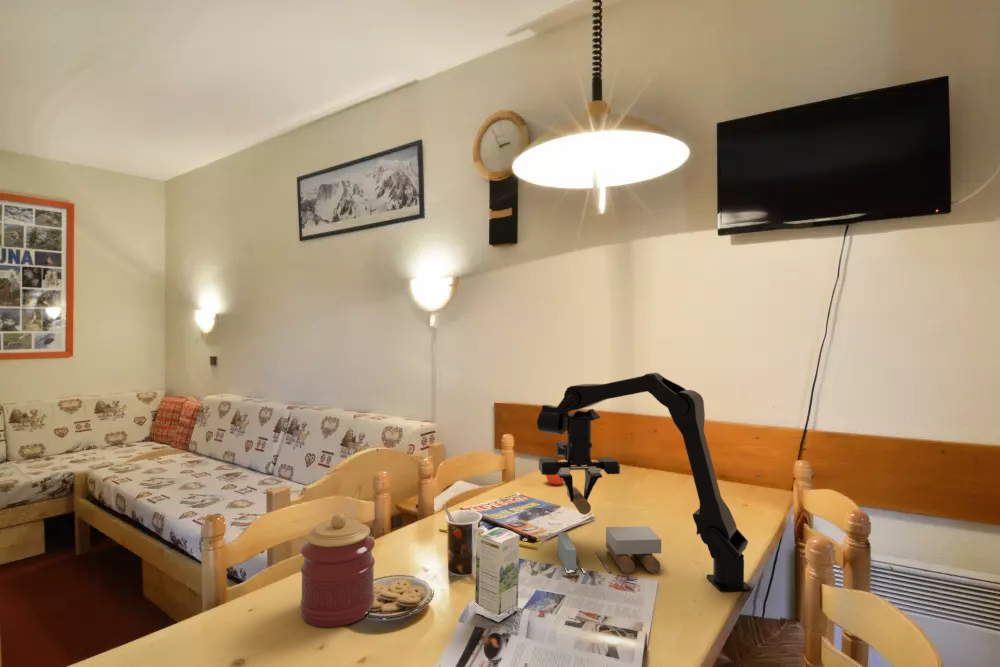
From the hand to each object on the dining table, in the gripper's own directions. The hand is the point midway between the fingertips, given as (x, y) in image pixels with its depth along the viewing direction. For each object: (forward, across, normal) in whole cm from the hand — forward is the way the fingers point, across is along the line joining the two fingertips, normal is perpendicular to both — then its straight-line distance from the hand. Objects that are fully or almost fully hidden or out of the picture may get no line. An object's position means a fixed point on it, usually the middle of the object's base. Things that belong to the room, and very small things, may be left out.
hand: (578, 501), depth 130 cm
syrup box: (+11, +22, +30) cm, 39 cm away
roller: (+1, 0, 0) cm, 1 cm away
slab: (+7, -10, +10) cm, 16 cm away
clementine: (+11, -4, -52) cm, 53 cm away
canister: (+11, +51, +27) cm, 59 cm away
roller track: (+10, -6, +10) cm, 16 cm away
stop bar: (+10, +5, +10) cm, 15 cm away
